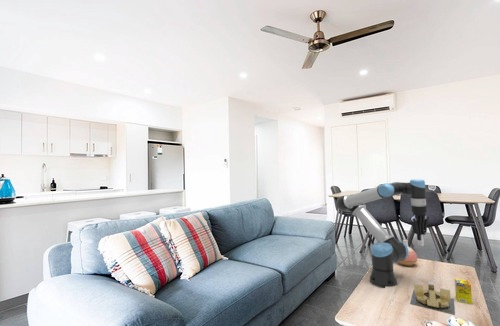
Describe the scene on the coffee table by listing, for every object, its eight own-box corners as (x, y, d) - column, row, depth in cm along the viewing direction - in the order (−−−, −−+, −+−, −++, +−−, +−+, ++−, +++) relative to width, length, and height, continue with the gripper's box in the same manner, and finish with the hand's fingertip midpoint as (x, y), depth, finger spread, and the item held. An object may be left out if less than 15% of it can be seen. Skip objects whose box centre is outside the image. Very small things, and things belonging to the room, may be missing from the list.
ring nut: (414, 290, 143) (414, 278, 143) (448, 297, 134) (448, 284, 135) (414, 303, 130) (414, 290, 130) (452, 311, 122) (451, 297, 122)
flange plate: (410, 306, 130) (409, 298, 131) (413, 292, 145) (413, 285, 145) (455, 317, 120) (454, 309, 120) (454, 301, 134) (453, 293, 134)
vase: (400, 267, 180) (398, 242, 180) (392, 261, 193) (391, 237, 194) (421, 268, 177) (420, 242, 178) (412, 261, 191) (411, 237, 191)
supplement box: (472, 306, 128) (471, 284, 128) (457, 303, 131) (456, 282, 132) (470, 301, 133) (469, 280, 133) (455, 298, 136) (454, 278, 137)
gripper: (416, 207, 146) (419, 248, 145) (432, 205, 150) (435, 245, 150) (404, 205, 153) (407, 245, 152) (420, 203, 157) (422, 242, 157)
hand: (420, 245), depth 151 cm, fingers closed
